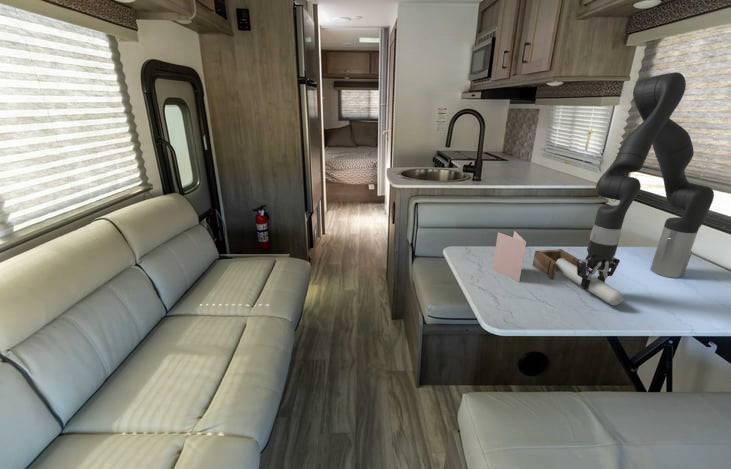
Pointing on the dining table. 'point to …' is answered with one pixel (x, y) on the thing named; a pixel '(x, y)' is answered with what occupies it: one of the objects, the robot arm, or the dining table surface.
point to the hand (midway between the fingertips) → (591, 287)
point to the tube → (595, 284)
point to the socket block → (551, 260)
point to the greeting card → (509, 255)
